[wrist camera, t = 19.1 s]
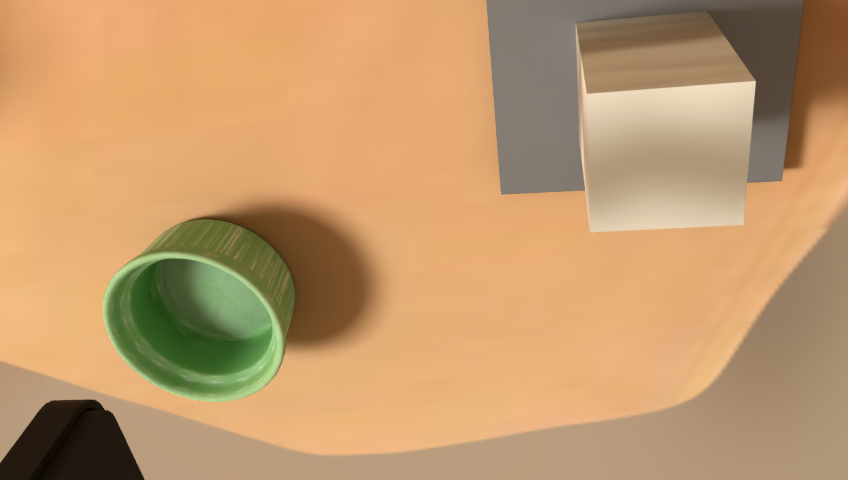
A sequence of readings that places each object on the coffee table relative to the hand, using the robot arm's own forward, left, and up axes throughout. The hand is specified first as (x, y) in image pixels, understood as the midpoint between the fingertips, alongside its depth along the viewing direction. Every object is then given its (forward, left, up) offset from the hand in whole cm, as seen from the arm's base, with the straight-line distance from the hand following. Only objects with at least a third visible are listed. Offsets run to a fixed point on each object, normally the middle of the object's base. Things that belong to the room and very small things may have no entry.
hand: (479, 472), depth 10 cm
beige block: (+4, +5, -25) cm, 26 cm away
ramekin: (+14, -16, -26) cm, 34 cm away
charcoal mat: (+4, +5, -26) cm, 27 cm away
